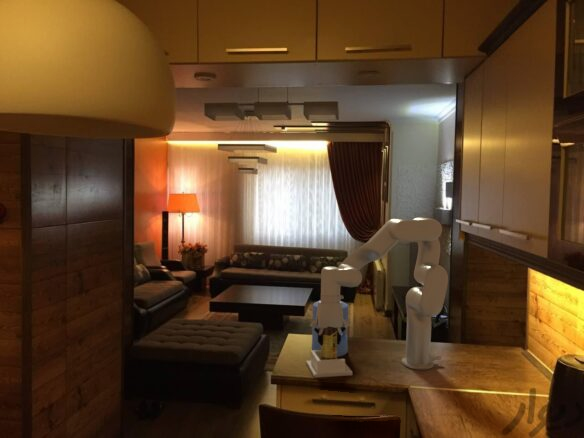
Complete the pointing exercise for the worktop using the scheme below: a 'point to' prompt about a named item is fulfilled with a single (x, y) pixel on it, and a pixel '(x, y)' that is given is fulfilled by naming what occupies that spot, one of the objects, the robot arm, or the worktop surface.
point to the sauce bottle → (329, 343)
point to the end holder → (327, 366)
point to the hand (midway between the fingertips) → (329, 343)
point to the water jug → (342, 347)
